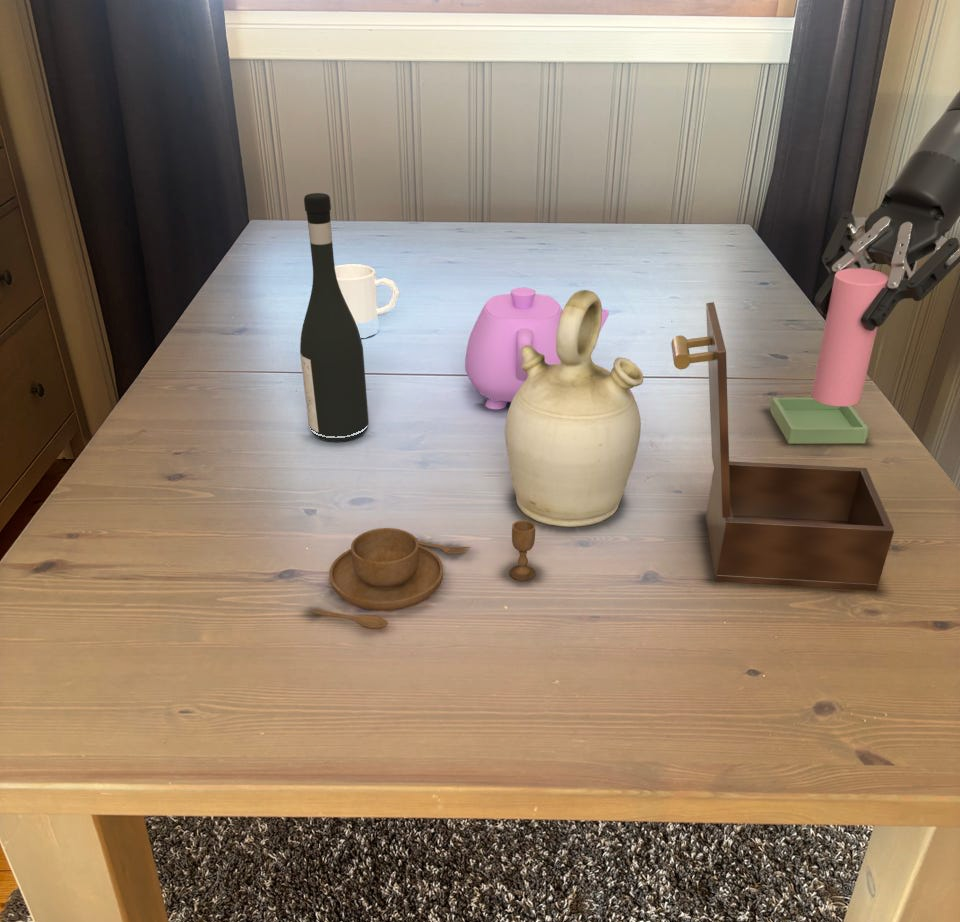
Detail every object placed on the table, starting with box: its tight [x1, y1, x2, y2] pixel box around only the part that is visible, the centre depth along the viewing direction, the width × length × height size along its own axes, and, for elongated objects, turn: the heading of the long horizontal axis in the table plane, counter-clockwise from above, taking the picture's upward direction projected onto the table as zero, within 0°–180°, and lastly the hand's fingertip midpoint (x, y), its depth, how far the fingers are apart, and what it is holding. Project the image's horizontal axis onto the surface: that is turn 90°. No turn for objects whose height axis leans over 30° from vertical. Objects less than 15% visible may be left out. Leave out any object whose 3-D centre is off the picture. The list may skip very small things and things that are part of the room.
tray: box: [769, 397, 870, 445], centre depth 132 cm, size 10×10×2 cm
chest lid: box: [670, 301, 731, 518], centre depth 99 cm, size 17×14×5 cm
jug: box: [504, 289, 644, 528], centre depth 109 cm, size 15×16×25 cm
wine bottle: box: [299, 192, 369, 443], centre depth 123 cm, size 8×8×30 cm
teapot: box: [464, 287, 610, 410], centre depth 136 cm, size 20×20×15 cm
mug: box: [334, 263, 401, 324], centre depth 159 cm, size 8×12×10 cm, turn 82°
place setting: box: [311, 519, 537, 629], centre depth 100 cm, size 18×20×6 cm
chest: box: [705, 460, 895, 591], centre depth 105 cm, size 17×14×7 cm
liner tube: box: [810, 268, 889, 407], centre depth 102 cm, size 5×5×13 cm
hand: (843, 317), depth 100 cm, fingers closed on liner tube, 5 cm apart
